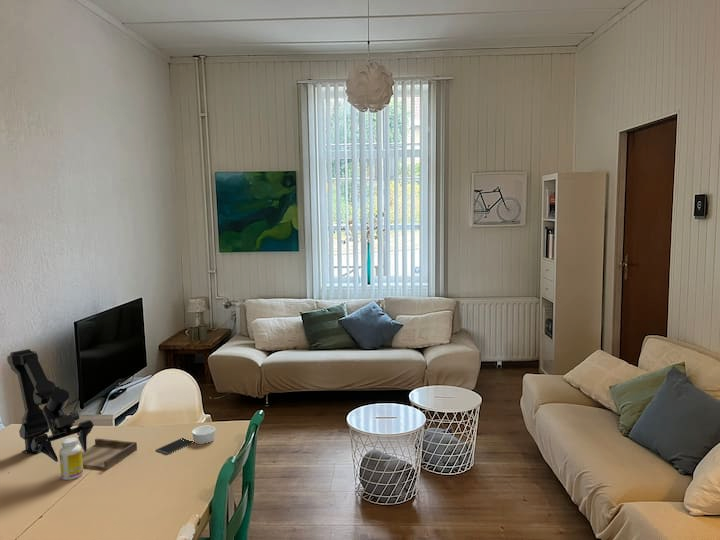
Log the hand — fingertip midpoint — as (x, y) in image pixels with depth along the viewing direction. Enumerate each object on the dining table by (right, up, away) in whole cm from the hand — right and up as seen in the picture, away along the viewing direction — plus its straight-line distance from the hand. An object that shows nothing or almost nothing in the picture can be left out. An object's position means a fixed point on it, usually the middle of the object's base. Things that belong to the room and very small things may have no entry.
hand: (71, 456), depth 174 cm
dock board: (+3, -6, +15) cm, 16 cm away
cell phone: (+28, -5, +23) cm, 36 cm away
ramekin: (+37, -4, +28) cm, 47 cm away
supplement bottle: (0, -7, +1) cm, 8 cm away
